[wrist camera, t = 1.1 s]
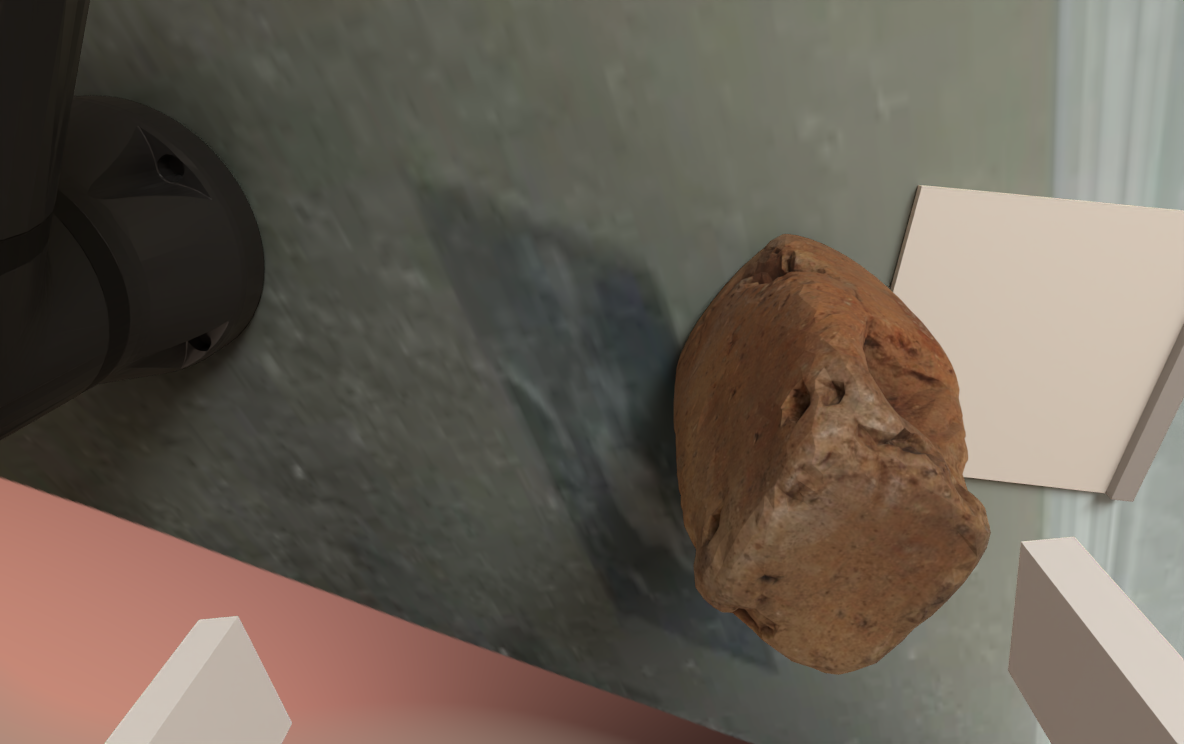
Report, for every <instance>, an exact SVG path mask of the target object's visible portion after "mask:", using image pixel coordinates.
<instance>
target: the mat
mask: <svg viewBox="0 0 1184 744" xmlns="http://www.w3.org/2000/svg"><path fill="white" fill-rule="evenodd" d="M890 290H891V291H892V292H893V293H894V294H895V295H897V296H898V297H899V298H900V299H901V300H902V301H903V302H904V304H905V305H906V306H907V307H908V308H909V309H910V310H911V311H912V312H913V313H914V314H915V315H916V316H917V317H918V318H919V319H920V320H921V321H922V322H923V324H924V325H925V326H926V327H927V329H928V330H929V331H930V332H931V334H932V335H933V336H934V338H935V339H936V340H937V341H938V343H939V344H940V345H941V347H942V348H943V350H944V352H945V353H946V355H947V357H948V358H949V360H950V362H951V364H952V366H953V369H954V371H955V374H956V376H957V381H958V385H959V389H960V391H959V402H960V406H961V410H962V414H963V417H962V418H963V423H964V429H965V431H966V437H965V442H966V446H967V449H968V461H967V463H966V465H965V468H964V471H963V477H970V478H978V479H987V480H995V481H1004V482H1013V483H1021V484H1030V485H1039V486H1047V487H1056V488H1064V489H1073V490H1082V491H1090V492H1099V493H1105V494H1106V495H1107V496H1109V497H1110V498H1111V499H1114V500H1123V501H1131V502H1133V501H1134V499H1135V497H1136V494H1137V492H1138V490H1139V488H1140V486H1141V484H1142V482H1143V480H1144V478H1145V476H1146V474H1147V472H1148V470H1149V468H1150V466H1151V464H1152V462H1153V460H1154V458H1155V455H1156V453H1157V451H1158V449H1159V447H1160V445H1161V443H1162V441H1163V439H1164V437H1165V435H1166V433H1167V431H1168V429H1169V427H1170V425H1171V423H1172V421H1173V418H1174V416H1175V414H1176V412H1177V410H1178V408H1179V406H1180V404H1181V402H1182V400H1183V398H1184V210H1174V209H1164V208H1153V207H1143V206H1133V205H1122V204H1112V203H1102V202H1091V201H1081V200H1070V199H1060V198H1050V197H1039V196H1029V195H1019V194H1008V193H998V192H988V191H977V190H967V189H956V188H946V187H936V186H925V185H918V189H917V192H916V196H915V200H914V203H913V207H912V211H911V214H910V218H909V222H908V226H907V229H906V233H905V237H904V240H903V244H902V248H901V251H900V255H899V259H898V262H897V266H896V270H895V274H894V277H893V281H892V285H891V288H890Z"/></svg>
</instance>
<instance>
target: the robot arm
mask: <svg viewBox="0 0 1184 744" xmlns="http://www.w3.org/2000/svg"><path fill="white" fill-rule="evenodd" d="M89 3H90V0H0V441H1V440H2V439H4V438H6V437H7V436H9V435H11V434H13V433H14V432H16V431H18V430H19V429H21V428H23V427H25V426H26V425H28V424H30V423H31V422H33V421H35V420H37V419H38V418H40V417H42V416H44V415H45V414H47V413H49V412H50V411H52V410H54V409H56V408H57V407H59V406H61V405H62V404H64V403H66V402H68V401H69V400H71V399H73V398H74V397H76V396H77V395H79V394H81V393H82V392H84V391H86V390H88V389H89V388H91V387H93V386H95V385H97V384H101V383H107V382H113V381H120V380H126V379H132V378H139V377H145V376H151V375H158V374H164V373H170V372H174V371H178V370H181V369H184V368H187V367H189V366H192V365H194V364H197V363H199V362H200V361H202V360H204V359H206V358H207V357H209V356H210V355H212V354H213V353H215V352H216V351H218V350H220V349H221V348H223V347H224V346H226V345H227V344H229V343H230V342H231V341H232V340H234V339H235V338H236V337H237V336H238V335H239V334H240V333H241V332H242V331H243V329H244V328H245V327H246V325H247V324H248V323H249V321H250V319H251V318H252V316H253V314H254V312H255V310H256V308H257V305H258V302H259V299H260V296H261V291H262V286H263V279H264V255H263V247H262V241H261V237H260V232H259V229H258V226H257V222H256V220H255V217H254V214H253V212H252V209H251V207H250V205H249V203H248V201H247V199H246V197H245V195H244V193H243V191H242V189H241V188H240V186H239V184H238V183H237V181H236V180H235V178H234V177H233V175H232V174H231V172H230V171H229V170H228V168H227V167H226V166H225V165H224V163H223V162H222V161H221V160H220V159H219V158H218V156H217V155H216V154H215V153H214V152H213V151H212V150H211V149H210V148H209V147H208V146H207V145H206V144H205V143H204V142H203V141H202V140H200V139H199V138H198V137H197V136H196V135H195V134H193V133H192V132H191V131H190V130H188V129H187V128H185V127H184V126H183V125H181V124H180V123H178V122H177V121H175V120H173V119H172V118H170V117H168V116H166V115H165V114H163V113H161V112H159V111H157V110H155V109H152V108H150V107H148V106H145V105H142V104H140V103H137V102H133V101H130V100H126V99H122V98H117V97H110V96H97V95H96V96H76V97H73V94H74V88H75V82H76V77H77V71H78V65H79V60H80V54H81V48H82V43H83V37H84V31H85V26H86V20H87V14H88V9H89ZM1008 671H1009V673H1010V675H1011V676H1012V678H1013V680H1014V681H1015V683H1016V685H1017V686H1018V688H1019V690H1020V691H1021V693H1022V695H1023V696H1024V698H1025V700H1026V702H1027V703H1028V705H1029V707H1030V708H1031V710H1032V712H1033V713H1034V715H1035V717H1036V718H1037V720H1038V722H1039V723H1040V725H1041V727H1042V728H1043V730H1044V732H1045V734H1046V735H1047V737H1048V739H1049V740H1050V742H1051V744H1184V659H1183V658H1182V657H1181V656H1180V655H1179V654H1178V652H1177V651H1176V650H1175V649H1174V648H1173V647H1172V646H1171V645H1170V643H1169V642H1168V641H1167V640H1166V639H1165V638H1164V637H1163V636H1162V634H1161V633H1160V632H1159V631H1158V630H1157V629H1156V628H1155V627H1154V626H1153V624H1152V623H1151V622H1150V621H1149V620H1148V619H1147V618H1146V617H1145V615H1144V614H1143V613H1142V612H1141V611H1140V610H1139V609H1138V608H1137V606H1136V605H1135V604H1134V603H1133V602H1132V601H1131V600H1130V599H1129V597H1128V596H1127V595H1126V594H1125V593H1124V592H1123V591H1122V590H1121V588H1120V587H1119V586H1118V585H1117V584H1116V583H1115V582H1114V581H1113V580H1112V578H1111V577H1110V576H1109V575H1108V574H1107V573H1106V572H1105V571H1104V569H1103V568H1102V567H1101V566H1100V565H1099V564H1098V563H1097V562H1096V560H1095V559H1094V558H1093V557H1092V556H1091V555H1090V554H1089V553H1088V551H1087V550H1086V549H1085V548H1084V547H1083V546H1082V545H1081V544H1080V543H1079V541H1078V540H1077V539H1076V538H1075V537H1065V538H1055V539H1044V540H1034V541H1023V542H1021V548H1020V558H1019V568H1018V578H1017V588H1016V598H1015V608H1014V618H1013V627H1012V637H1011V647H1010V657H1009V667H1008ZM291 724H292V722H291V720H290V718H289V716H288V714H287V712H286V710H285V708H284V706H283V704H282V702H281V700H280V698H279V696H278V694H277V692H276V690H275V688H274V686H273V684H272V682H271V680H270V678H269V676H268V674H267V672H266V670H265V668H264V667H263V664H262V663H261V660H260V658H259V657H258V654H257V653H256V650H255V648H254V647H253V645H252V642H251V640H250V638H249V636H248V634H247V633H246V631H245V629H244V627H243V625H242V623H241V621H240V619H239V617H238V616H234V617H225V618H224V617H223V618H214V619H202V620H198V622H197V623H196V624H195V626H194V627H193V628H192V630H191V631H190V632H189V633H188V635H187V636H186V637H185V639H184V640H183V641H182V643H181V644H180V645H179V647H178V648H177V649H176V651H175V652H174V653H173V655H172V656H171V657H170V658H169V660H168V661H167V662H166V664H165V665H164V666H163V668H162V669H161V670H160V671H159V673H158V674H157V675H156V677H155V678H154V679H153V681H152V682H151V683H150V685H149V686H148V687H147V689H146V690H145V691H144V692H143V694H142V695H141V696H140V698H139V699H138V700H137V701H136V703H135V704H134V705H133V707H132V708H131V709H130V711H129V712H128V713H127V715H126V716H125V717H124V719H123V720H122V721H121V722H120V724H119V725H118V726H117V728H116V729H115V730H114V732H113V733H112V734H111V736H110V737H109V738H108V739H107V741H106V742H105V743H104V744H282V742H283V740H284V738H285V736H286V734H287V732H288V730H289V728H290V726H291Z"/></svg>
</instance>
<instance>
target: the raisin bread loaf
mask: <svg viewBox="0 0 1184 744" xmlns="http://www.w3.org/2000/svg"><path fill="white" fill-rule="evenodd" d="M959 391H960V389H959V385H958V381H957V376H956V374H955V371H954V369H953V366H952V364H951V362H950V360H949V358H948V357H947V355H946V353H945V352H944V350H943V348H942V347H941V345H940V344H939V343H938V341H937V340H936V339H935V338H934V336H933V335H932V334H931V332H930V331H929V330H928V329H927V327H926V326H925V325H924V324H923V322H922V321H921V320H920V319H919V318H918V317H917V316H916V315H915V314H914V313H913V312H912V311H911V310H910V309H909V308H908V307H907V306H906V305H905V304H904V302H903V301H902V300H901V299H900V298H899V297H898V296H897V295H895V294H894V293H893V292H892V291H891V290H890V289H889V288H888V287H887V286H885V285H884V284H883V283H882V282H881V281H880V280H878V279H877V278H876V277H875V276H874V275H872V274H871V273H870V272H868V271H867V270H866V269H865V268H863V267H862V266H861V265H859V264H858V263H856V262H855V261H853V260H852V259H850V258H848V257H847V256H845V255H843V254H842V253H840V252H838V251H836V250H834V249H832V248H830V247H828V246H826V245H824V244H822V243H819V242H817V241H814V240H811V239H808V238H805V237H801V236H797V235H791V234H782V235H781V236H779V237H777V238H775V239H773V240H772V241H770V242H769V243H768V244H767V245H766V247H765V248H764V249H762V250H761V251H760V252H758V253H757V254H756V255H755V256H754V257H753V258H752V259H751V260H749V261H748V262H747V263H746V264H745V265H744V266H743V267H742V268H741V269H740V270H739V271H738V272H737V273H736V274H735V275H734V276H733V277H732V278H731V279H730V281H729V282H728V283H727V284H726V285H725V286H724V287H723V289H722V290H721V291H720V292H719V293H718V295H717V296H716V297H715V298H714V300H713V301H712V302H711V303H710V305H709V306H708V308H707V309H706V310H705V312H704V313H703V315H702V316H701V317H700V319H699V320H698V322H697V324H696V325H695V327H694V328H693V330H692V332H691V333H690V335H689V338H688V340H687V342H686V344H685V346H684V348H683V350H682V352H681V354H680V357H679V361H678V364H677V370H676V381H675V394H674V431H675V434H676V462H677V477H678V484H679V492H680V494H681V507H682V510H683V519H684V526H685V528H686V530H687V532H688V534H689V537H690V539H691V541H692V543H693V545H694V546H695V548H696V556H695V562H694V575H695V586H696V588H697V590H698V591H699V593H700V594H701V595H702V597H703V598H704V599H705V600H706V601H707V602H708V603H709V604H711V605H712V606H713V607H714V608H716V609H718V610H719V611H721V612H730V613H734V614H735V615H736V616H737V617H738V618H739V619H741V620H742V621H743V622H744V623H745V624H746V625H748V626H749V627H750V628H751V629H752V630H753V631H754V632H755V633H756V634H757V635H758V636H759V637H760V638H761V639H762V640H763V641H765V642H766V643H767V644H769V645H770V646H772V647H773V648H774V649H776V650H777V651H779V652H780V653H781V654H783V655H784V656H786V657H787V658H788V659H790V660H791V661H793V662H796V663H799V664H802V665H806V666H809V667H812V668H814V669H817V670H819V671H822V672H824V673H830V674H844V673H848V672H852V671H855V670H858V669H861V668H864V667H866V666H869V665H872V664H875V663H877V662H878V661H879V660H880V659H882V658H883V657H884V656H885V655H886V654H887V653H889V652H890V651H891V650H892V649H893V648H895V647H896V646H897V645H898V644H899V643H900V642H902V641H903V640H904V639H905V637H906V636H907V635H908V634H909V633H910V632H911V631H912V630H913V629H914V628H915V627H917V626H918V625H919V624H921V623H922V622H924V621H925V620H926V619H928V618H929V617H931V616H932V615H933V614H934V613H935V612H936V611H937V610H938V609H939V608H940V607H941V606H942V605H943V604H944V603H945V602H946V601H947V600H948V599H949V598H950V597H951V596H952V595H953V594H954V593H955V592H956V591H957V590H958V589H959V588H960V586H961V585H962V584H963V583H964V582H965V580H966V579H967V578H968V576H969V575H970V574H971V572H972V571H973V569H974V568H975V567H976V565H977V564H978V562H979V560H980V559H981V557H982V555H983V553H984V552H985V550H986V548H987V545H988V541H989V537H990V533H991V532H990V526H989V523H988V519H987V515H986V510H985V507H984V506H983V504H982V503H981V502H980V501H979V500H978V499H977V498H976V497H975V496H974V495H973V494H972V493H970V492H969V491H968V490H967V487H966V484H965V481H964V477H963V471H964V468H965V465H966V463H967V461H968V449H967V446H966V442H965V437H966V431H965V429H964V423H963V418H962V417H963V414H962V410H961V406H960V402H959Z"/></svg>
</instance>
